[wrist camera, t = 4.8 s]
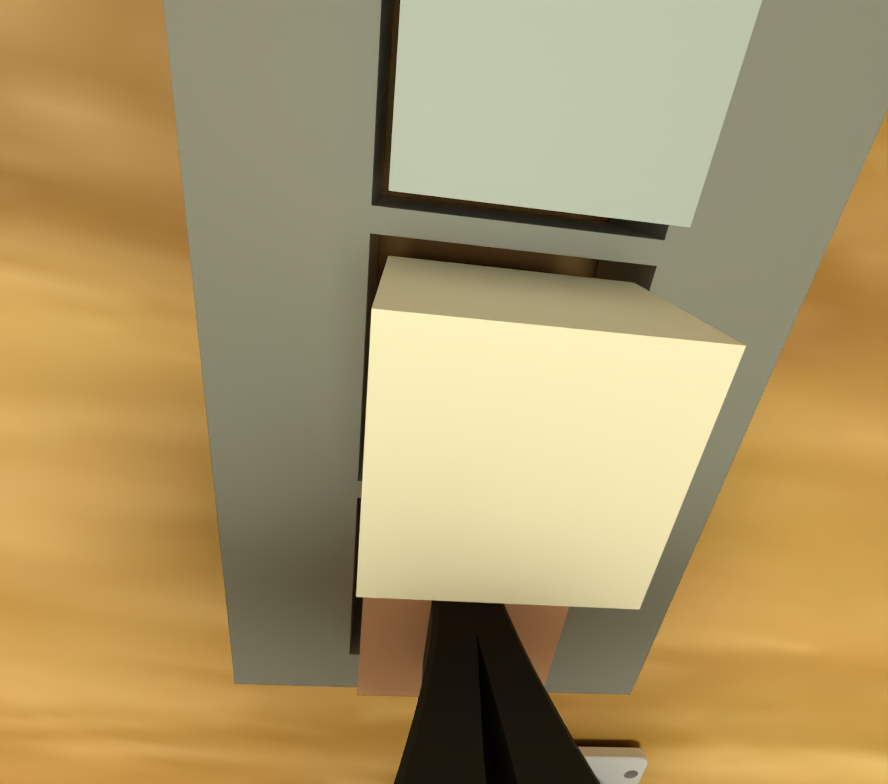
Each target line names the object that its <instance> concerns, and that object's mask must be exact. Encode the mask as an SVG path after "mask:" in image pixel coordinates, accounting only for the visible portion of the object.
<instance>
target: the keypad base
mask: <svg viewBox="0 0 888 784" xmlns="http://www.w3.org/2000/svg"><path fill="white" fill-rule="evenodd" d="M163 3H164V13H165V22H166V32H167V41H168V51H169V60H170V70H171V79H172V89H173V99H174V108H175V118H176V127H177V137H178V146H179V156H180V165H181V175H182V184H183V194H184V204H185V213H186V223H187V232H188V242H189V251H190V261H191V270H192V280H193V289H194V299H195V309H196V318H197V328H198V337H199V347H200V356H201V366H202V375H203V385H204V394H205V404H206V413H207V423H208V433H209V442H210V452H211V461H212V471H213V480H214V490H215V499H216V509H217V518H218V528H219V538H220V547H221V557H222V566H223V576H224V585H225V595H226V604H227V614H228V623H229V633H230V643H231V652H232V662H233V671H234V681H235V684H256V685H293V686H330V687H358V672H359V656H360V640H361V624H362V608H363V597H356V589H357V570H358V552H359V533H360V514H361V496H362V477H363V459H364V440H365V422H366V403H367V384H368V366H369V347H370V329H371V310H372V306H373V302H374V299H375V296H376V293H377V281H378V264H379V246H380V235H389V236H398V237H407V238H415V239H424V240H433V241H442V242H451V243H459V244H468V245H477V246H486V247H494V248H503V249H512V250H521V251H530V252H538V253H547V254H556V255H565V256H574V257H582V258H591V259H599V262H598V266H597V270H596V274H595V278H597V279H606V280H616V281H625V282H634V283H636V284H637V285H639V286H641V287H643V288H645V289H646V290H648V291H650V292H652V293H653V294H655V295H657V296H659V297H660V298H662V299H664V300H666V301H668V302H669V303H671V304H673V305H675V306H676V307H678V308H680V309H682V310H684V311H685V312H687V313H689V314H691V315H692V316H694V317H696V318H698V319H700V320H701V321H703V322H705V323H707V324H708V325H710V326H712V327H714V328H715V329H717V330H719V331H721V332H723V333H724V334H726V335H728V336H730V337H731V338H733V339H735V340H737V341H739V342H740V343H742V344H744V345H746V347H745V350H744V352H743V355H742V357H741V360H740V362H739V365H738V367H737V370H736V372H735V375H734V377H733V380H732V382H731V384H730V387H729V389H728V392H727V394H726V397H725V399H724V402H723V404H722V407H721V409H720V412H719V414H718V417H717V419H716V421H715V424H714V426H713V429H712V431H711V434H710V436H709V439H708V441H707V444H706V446H705V449H704V451H703V454H702V456H701V459H700V461H699V463H698V466H697V468H696V471H695V473H694V476H693V478H692V481H691V483H690V486H689V488H688V491H687V493H686V496H685V498H684V501H683V503H682V505H681V508H680V510H679V513H678V515H677V518H676V520H675V523H674V525H673V528H672V530H671V533H670V535H669V538H668V540H667V543H666V545H665V547H664V550H663V552H662V555H661V557H660V560H659V562H658V565H657V567H656V570H655V572H654V575H653V577H652V580H651V582H650V584H649V587H648V589H647V592H646V594H645V597H644V599H643V602H642V604H641V607H640V609H617V608H595V607H572V606H569V609H568V613H567V616H566V619H565V622H564V625H563V628H562V631H561V635H560V638H559V641H558V644H557V647H556V650H555V654H554V657H553V660H552V663H551V666H550V669H549V672H548V676H547V679H546V682H545V685H544V688H545V690H546V691H547V692H553V693H590V694H627V695H630V694H631V692H632V690H633V687H634V685H635V683H636V680H637V678H638V676H639V674H640V671H641V669H642V667H643V665H644V662H645V660H646V658H647V655H648V653H649V651H650V649H651V646H652V644H653V642H654V640H655V637H656V635H657V633H658V630H659V628H660V626H661V624H662V621H663V619H664V617H665V615H666V612H667V610H668V608H669V605H670V603H671V601H672V599H673V596H674V594H675V592H676V590H677V587H678V585H679V583H680V580H681V578H682V576H683V574H684V571H685V569H686V567H687V565H688V562H689V560H690V558H691V555H692V553H693V551H694V549H695V546H696V544H697V542H698V540H699V537H700V535H701V533H702V530H703V528H704V526H705V524H706V521H707V519H708V517H709V515H710V512H711V510H712V508H713V505H714V503H715V501H716V499H717V496H718V494H719V492H720V490H721V487H722V485H723V483H724V480H725V478H726V476H727V474H728V471H729V469H730V467H731V465H732V462H733V460H734V458H735V455H736V453H737V451H738V449H739V446H740V444H741V442H742V440H743V437H744V435H745V433H746V430H747V428H748V426H749V424H750V421H751V419H752V417H753V415H754V412H755V410H756V408H757V405H758V403H759V401H760V399H761V396H762V394H763V392H764V390H765V387H766V385H767V383H768V380H769V378H770V376H771V374H772V371H773V369H774V367H775V365H776V362H777V360H778V358H779V355H780V353H781V351H782V349H783V346H784V344H785V342H786V340H787V337H788V335H789V333H790V330H791V328H792V326H793V324H794V321H795V319H796V317H797V315H798V312H799V310H800V308H801V305H802V303H803V301H804V299H805V296H806V294H807V292H808V290H809V287H810V285H811V283H812V280H813V278H814V276H815V274H816V271H817V269H818V267H819V265H820V262H821V260H822V258H823V255H824V253H825V251H826V249H827V246H828V244H829V242H830V240H831V237H832V235H833V233H834V230H835V228H836V226H837V224H838V221H839V219H840V217H841V215H842V212H843V210H844V208H845V205H846V203H847V201H848V199H849V196H850V194H851V192H852V190H853V187H854V185H855V183H856V180H857V178H858V176H859V174H860V171H861V169H862V167H863V165H864V162H865V160H866V158H867V155H868V153H869V151H870V149H871V146H872V144H873V142H874V140H875V137H876V135H877V133H878V130H879V128H880V126H881V124H882V121H883V119H884V117H885V115H886V112H887V110H888V0H762V3H761V6H760V9H759V12H758V15H757V19H756V22H755V25H754V28H753V31H752V34H751V37H750V41H749V44H748V47H747V50H746V53H745V56H744V60H743V63H742V66H741V69H740V72H739V75H738V78H737V82H736V85H735V88H734V91H733V94H732V97H731V100H730V104H729V107H728V110H727V113H726V116H725V119H724V122H723V126H722V129H721V132H720V135H719V138H718V141H717V145H716V148H715V151H714V154H713V157H712V160H711V163H710V167H709V170H708V173H707V176H706V179H705V182H704V185H703V189H702V192H701V195H700V198H699V201H698V204H697V207H696V211H695V214H694V217H693V220H692V223H691V226H690V227H682V226H674V225H666V224H657V223H649V222H641V221H633V220H625V219H617V218H609V222H602V221H594V220H585V219H577V218H569V217H561V216H552V215H544V214H536V213H528V212H519V211H511V210H503V209H495V208H486V207H478V206H470V205H462V204H454V203H445V202H437V201H429V200H421V199H412V198H404V197H396V196H388V195H383V177H384V160H385V143H386V125H387V108H388V91H389V73H390V56H391V39H392V21H393V4H394V0H163Z"/></svg>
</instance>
